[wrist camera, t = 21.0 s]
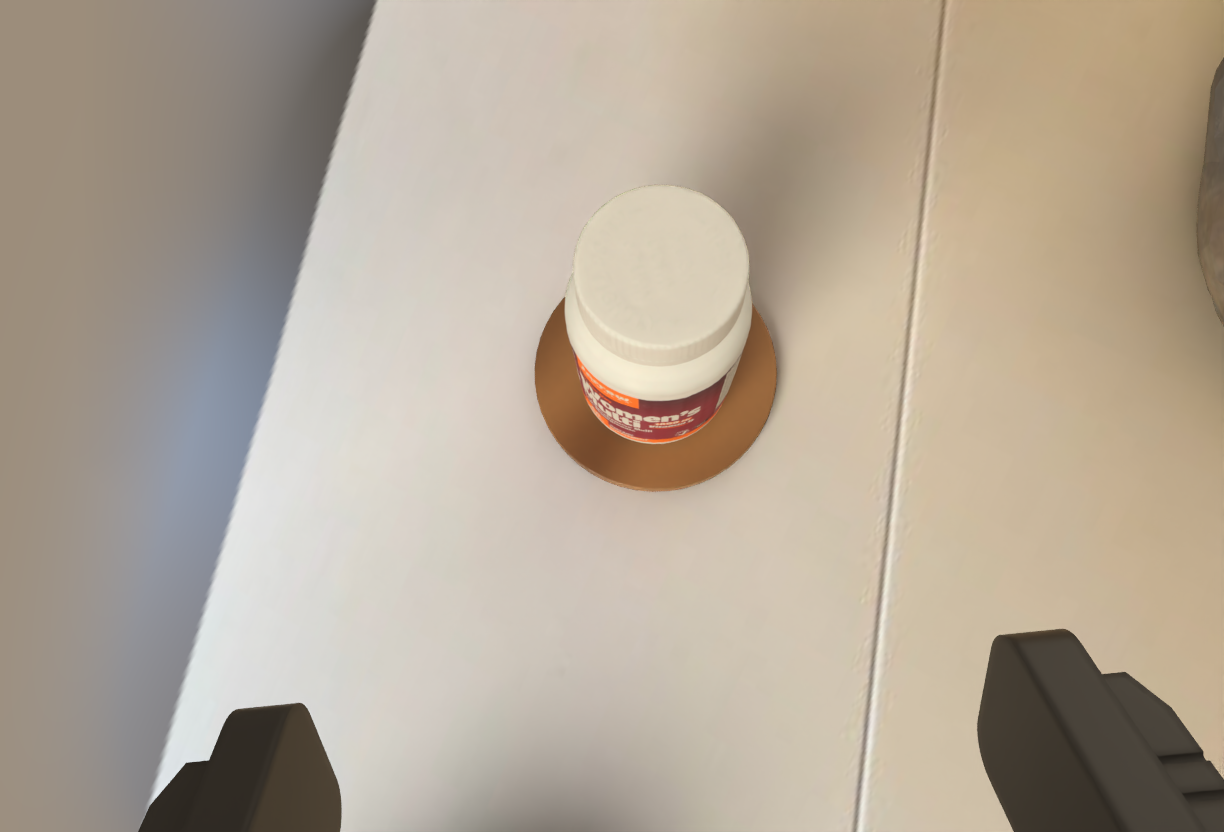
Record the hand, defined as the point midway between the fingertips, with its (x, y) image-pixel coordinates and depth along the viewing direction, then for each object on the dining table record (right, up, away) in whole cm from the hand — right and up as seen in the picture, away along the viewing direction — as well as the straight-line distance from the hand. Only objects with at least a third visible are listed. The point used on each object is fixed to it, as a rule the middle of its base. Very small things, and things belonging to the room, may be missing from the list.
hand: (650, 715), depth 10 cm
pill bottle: (+1, +5, +26) cm, 27 cm away
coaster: (+1, +5, +26) cm, 27 cm away
